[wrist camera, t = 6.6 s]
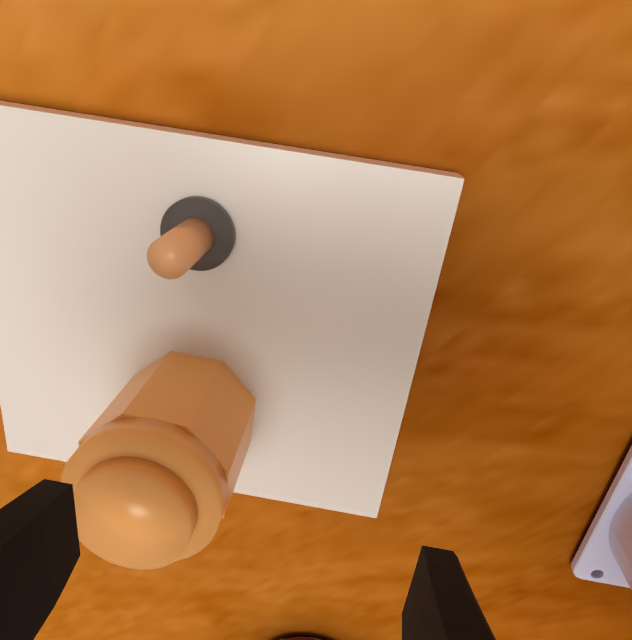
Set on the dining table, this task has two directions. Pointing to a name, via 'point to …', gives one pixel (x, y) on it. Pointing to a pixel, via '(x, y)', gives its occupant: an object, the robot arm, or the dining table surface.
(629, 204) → the dining table surface
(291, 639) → the supplement bottle
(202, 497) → the acorn nut
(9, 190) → the junction plate
